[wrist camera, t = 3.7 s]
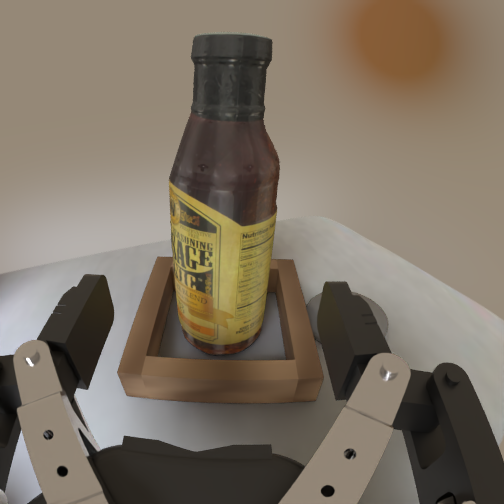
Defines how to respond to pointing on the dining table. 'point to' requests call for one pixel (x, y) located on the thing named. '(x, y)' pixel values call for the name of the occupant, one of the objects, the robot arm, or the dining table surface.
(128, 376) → the pocket frame
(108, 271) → the dining table surface
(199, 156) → the sauce bottle
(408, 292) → the dining table surface
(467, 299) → the dining table surface
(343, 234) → the dining table surface
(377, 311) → the coaster
